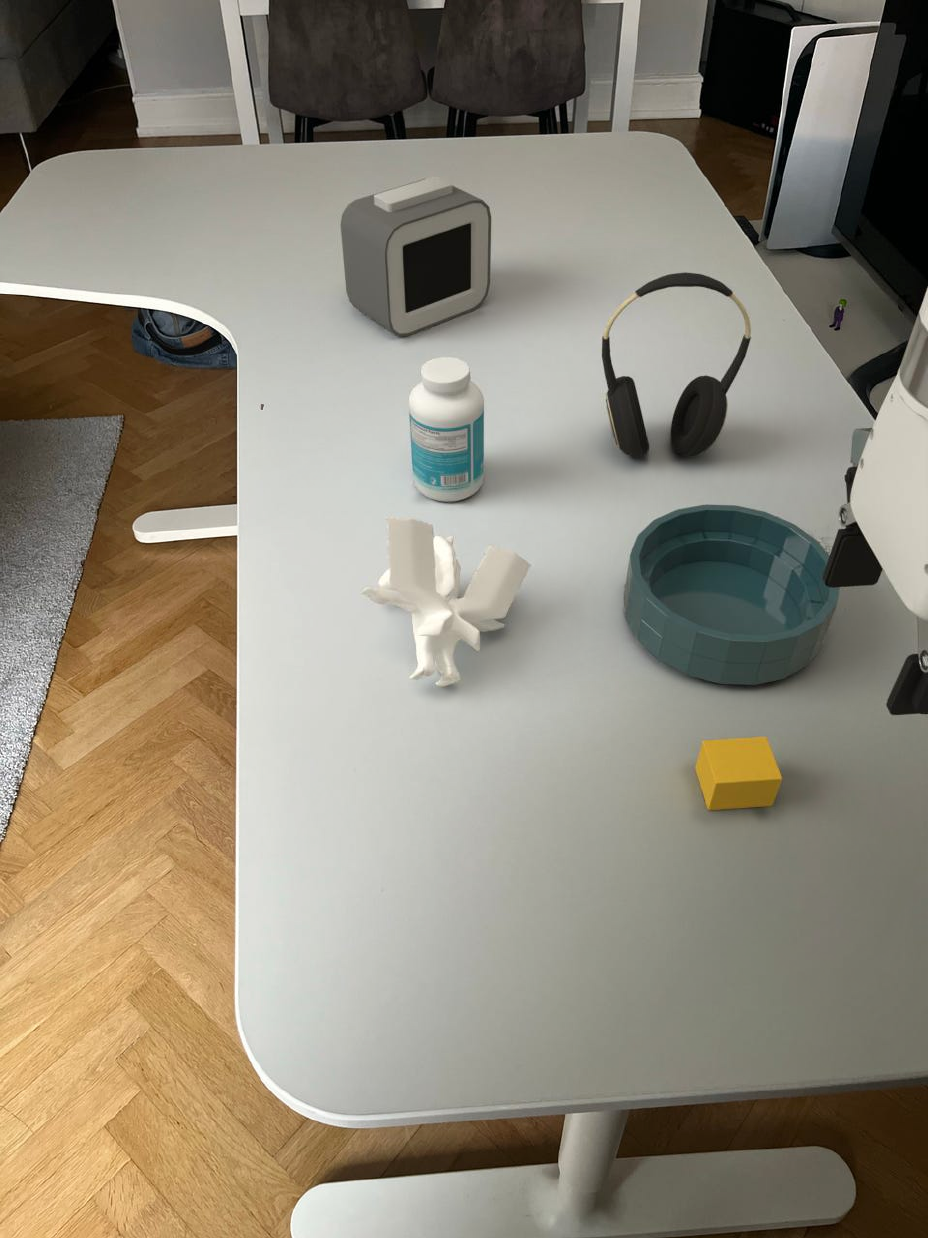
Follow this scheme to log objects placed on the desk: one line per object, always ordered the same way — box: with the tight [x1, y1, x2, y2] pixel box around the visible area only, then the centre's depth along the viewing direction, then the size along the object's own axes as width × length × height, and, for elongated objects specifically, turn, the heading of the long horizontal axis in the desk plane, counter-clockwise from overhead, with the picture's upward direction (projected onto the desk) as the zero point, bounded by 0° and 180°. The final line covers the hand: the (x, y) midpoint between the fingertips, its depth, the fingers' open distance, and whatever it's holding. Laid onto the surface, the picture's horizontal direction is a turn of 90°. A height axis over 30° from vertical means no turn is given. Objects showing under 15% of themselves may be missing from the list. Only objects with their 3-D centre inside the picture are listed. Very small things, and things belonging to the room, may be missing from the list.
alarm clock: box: [340, 175, 492, 338], centre depth 126 cm, size 16×11×16 cm
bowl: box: [623, 504, 841, 686], centre depth 87 cm, size 18×18×6 cm
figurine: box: [361, 516, 532, 687], centre depth 85 cm, size 15×12×14 cm
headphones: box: [601, 271, 752, 458], centre depth 101 cm, size 9×15×20 cm, turn 90°
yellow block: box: [694, 736, 783, 811], centre depth 75 cm, size 4×5×4 cm
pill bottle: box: [408, 356, 485, 502], centre depth 99 cm, size 8×7×14 cm
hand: (880, 642), depth 55 cm, fingers open, 9 cm apart
